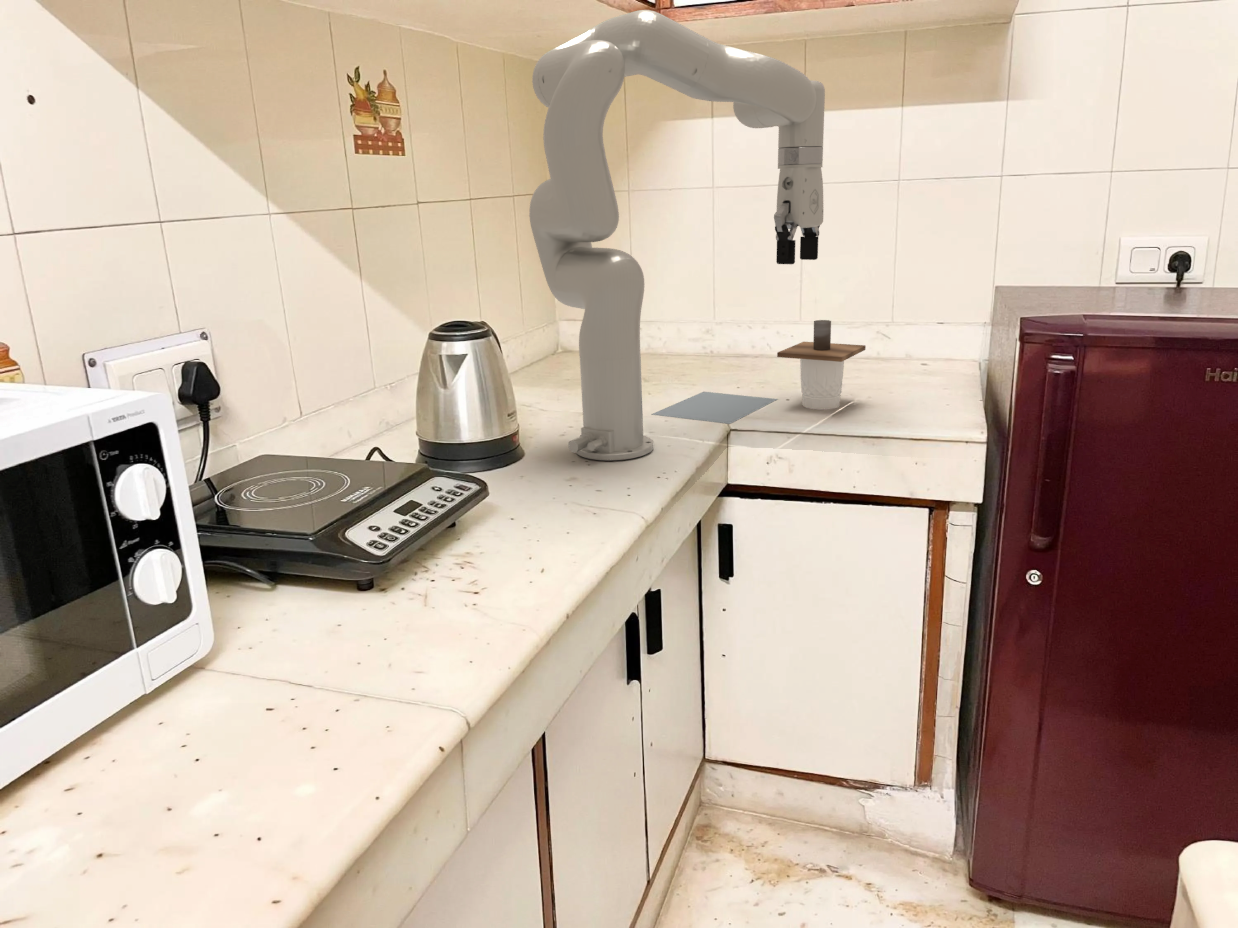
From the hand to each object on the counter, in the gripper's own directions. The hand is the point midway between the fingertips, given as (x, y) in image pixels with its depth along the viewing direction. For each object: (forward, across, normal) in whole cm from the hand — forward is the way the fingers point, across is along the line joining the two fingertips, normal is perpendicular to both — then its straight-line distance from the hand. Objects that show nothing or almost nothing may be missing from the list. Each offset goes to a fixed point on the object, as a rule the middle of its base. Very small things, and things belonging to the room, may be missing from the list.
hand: (797, 261), depth 161 cm
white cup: (+27, +3, -4) cm, 27 cm away
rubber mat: (+27, -6, +13) cm, 30 cm away
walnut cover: (+16, +3, -4) cm, 17 cm away
